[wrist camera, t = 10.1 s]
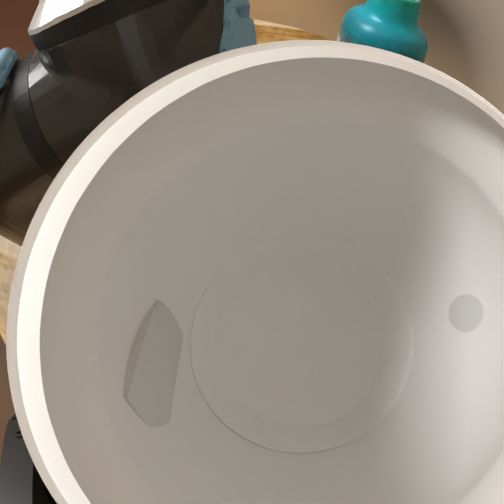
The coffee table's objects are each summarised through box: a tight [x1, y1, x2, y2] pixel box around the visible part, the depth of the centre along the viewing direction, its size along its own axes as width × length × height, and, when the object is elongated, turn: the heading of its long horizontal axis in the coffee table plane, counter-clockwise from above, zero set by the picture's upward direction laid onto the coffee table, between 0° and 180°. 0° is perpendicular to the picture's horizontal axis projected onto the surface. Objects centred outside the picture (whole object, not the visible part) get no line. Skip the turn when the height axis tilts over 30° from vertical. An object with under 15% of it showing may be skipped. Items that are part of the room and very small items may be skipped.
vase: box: [337, 0, 428, 63], centre depth 26 cm, size 11×11×19 cm
